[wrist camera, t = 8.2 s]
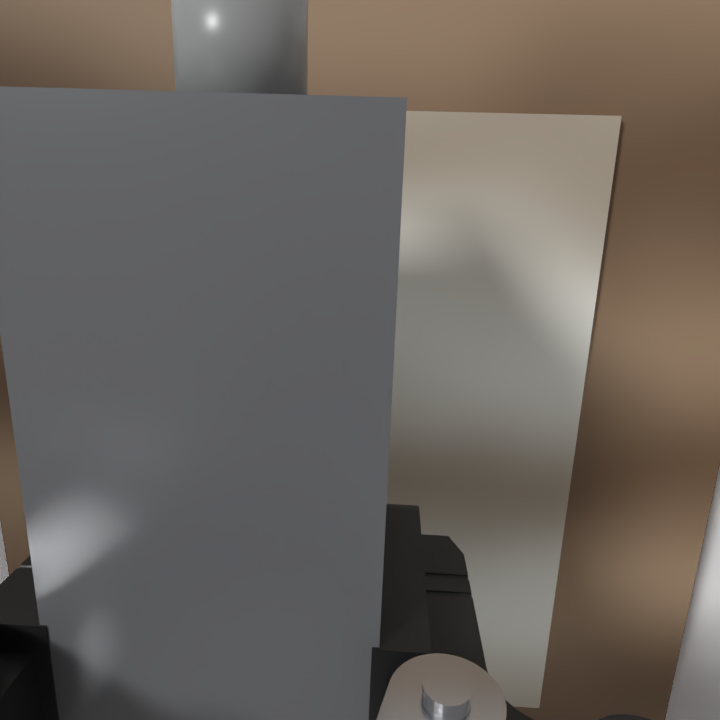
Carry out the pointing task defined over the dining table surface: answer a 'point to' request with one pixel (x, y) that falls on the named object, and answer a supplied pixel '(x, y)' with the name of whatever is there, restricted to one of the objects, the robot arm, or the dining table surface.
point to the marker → (204, 374)
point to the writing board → (516, 303)
